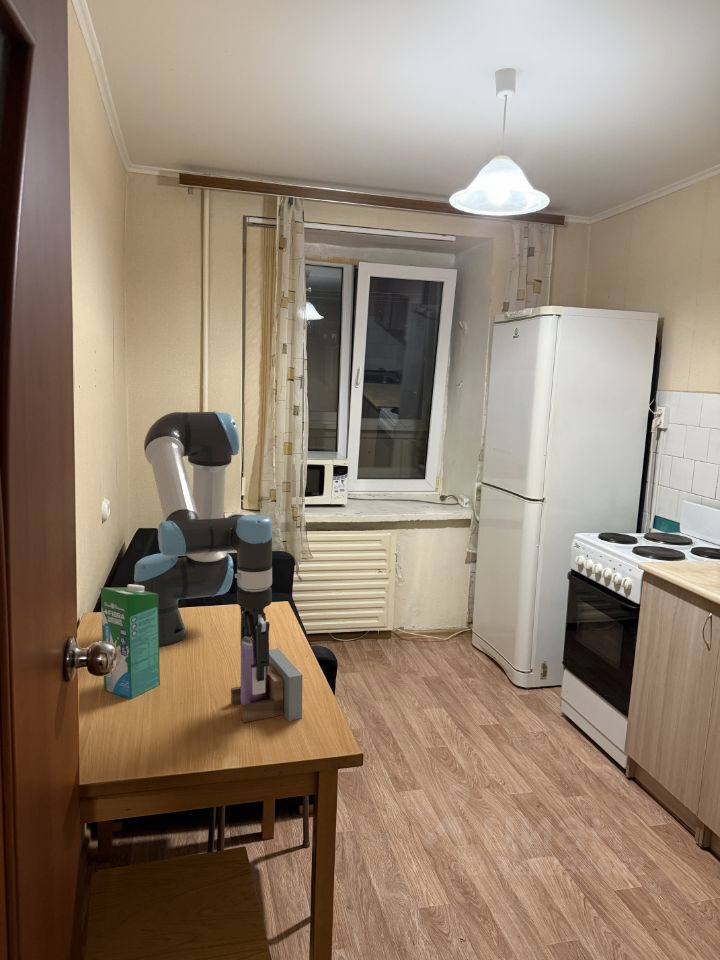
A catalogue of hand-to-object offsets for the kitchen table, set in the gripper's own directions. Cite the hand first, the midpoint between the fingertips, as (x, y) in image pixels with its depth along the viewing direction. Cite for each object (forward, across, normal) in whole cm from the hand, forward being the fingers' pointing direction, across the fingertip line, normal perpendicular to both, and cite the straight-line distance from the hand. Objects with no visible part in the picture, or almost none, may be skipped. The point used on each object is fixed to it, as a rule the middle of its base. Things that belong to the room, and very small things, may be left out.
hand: (254, 686), depth 153 cm
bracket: (+5, 0, +1) cm, 5 cm away
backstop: (+5, 0, +7) cm, 9 cm away
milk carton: (+6, -22, -23) cm, 32 cm away
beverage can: (+4, 0, 0) cm, 4 cm away
